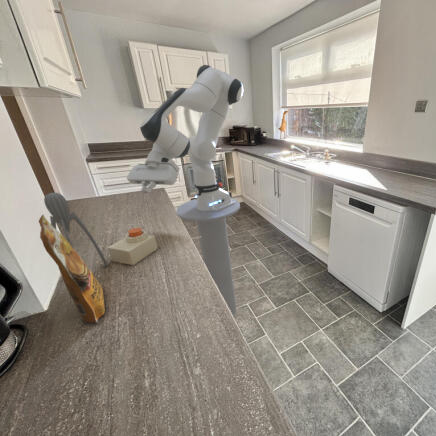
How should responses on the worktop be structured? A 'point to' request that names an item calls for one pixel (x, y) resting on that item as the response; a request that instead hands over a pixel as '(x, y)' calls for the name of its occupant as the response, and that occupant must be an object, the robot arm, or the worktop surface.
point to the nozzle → (135, 232)
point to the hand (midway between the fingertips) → (145, 192)
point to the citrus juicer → (66, 217)
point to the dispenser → (132, 248)
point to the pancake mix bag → (74, 273)
